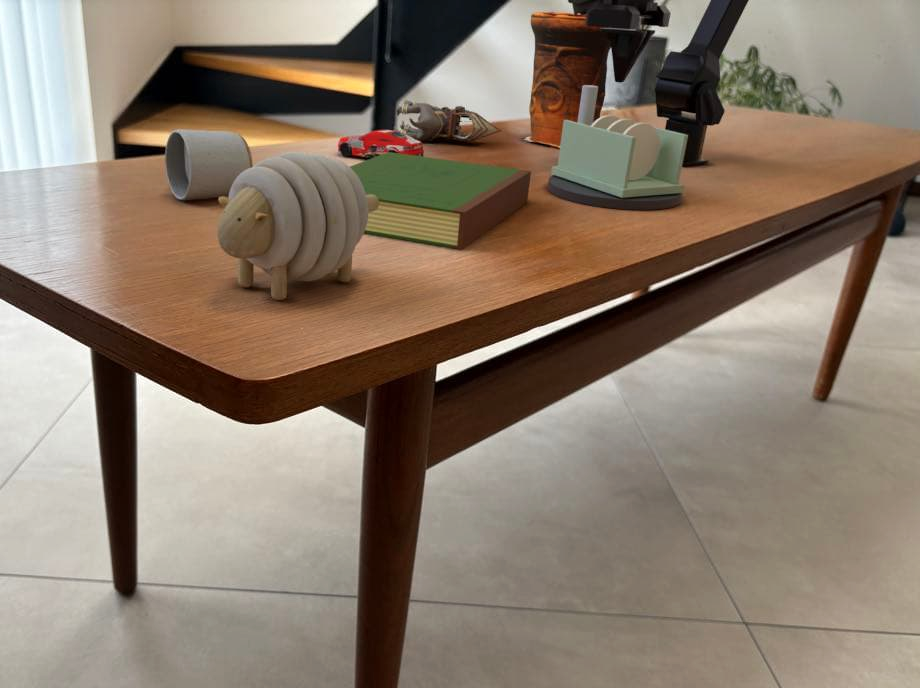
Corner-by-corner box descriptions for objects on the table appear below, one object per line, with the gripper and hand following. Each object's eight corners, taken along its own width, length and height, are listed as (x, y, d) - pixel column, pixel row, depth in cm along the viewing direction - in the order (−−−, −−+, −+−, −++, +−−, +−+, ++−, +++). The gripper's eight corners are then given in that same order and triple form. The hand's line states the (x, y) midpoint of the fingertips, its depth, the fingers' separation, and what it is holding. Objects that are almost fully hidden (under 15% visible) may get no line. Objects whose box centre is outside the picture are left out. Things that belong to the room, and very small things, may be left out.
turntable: (605, 175, 125) (606, 167, 125) (708, 201, 113) (710, 192, 113) (520, 186, 116) (521, 177, 115) (622, 216, 104) (623, 206, 103)
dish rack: (543, 171, 118) (555, 85, 114) (601, 168, 123) (614, 84, 118) (621, 197, 106) (638, 102, 101) (682, 192, 111) (701, 101, 106)
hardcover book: (461, 249, 88) (465, 212, 86) (296, 221, 94) (296, 186, 93) (528, 200, 109) (532, 170, 107) (389, 180, 115) (391, 151, 113)
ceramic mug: (257, 200, 102) (256, 131, 98) (191, 207, 97) (187, 135, 94) (217, 183, 109) (215, 118, 106) (154, 188, 105) (150, 121, 102)
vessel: (500, 139, 148) (514, 10, 140) (544, 132, 158) (560, 10, 149) (575, 153, 140) (595, 16, 131) (617, 144, 150) (638, 16, 141)
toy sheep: (184, 289, 73) (177, 152, 68) (323, 251, 85) (326, 132, 80) (274, 323, 67) (273, 176, 62) (409, 277, 79) (418, 150, 74)
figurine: (410, 96, 153) (507, 104, 150) (407, 132, 155) (502, 141, 153) (388, 102, 135) (498, 112, 132) (385, 143, 137) (493, 153, 134)
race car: (330, 155, 129) (330, 127, 127) (349, 150, 133) (350, 123, 131) (409, 167, 123) (411, 138, 121) (427, 162, 127) (429, 133, 126)
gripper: (604, -40, 130) (588, 72, 136) (556, -46, 115) (541, 80, 122) (680, -37, 124) (659, 80, 131) (640, -43, 110) (618, 89, 117)
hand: (619, 82), depth 126 cm, fingers closed
